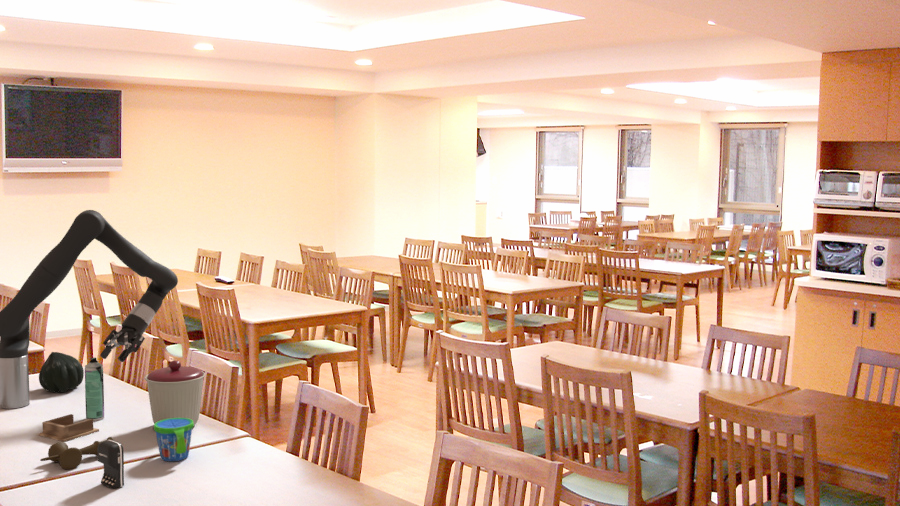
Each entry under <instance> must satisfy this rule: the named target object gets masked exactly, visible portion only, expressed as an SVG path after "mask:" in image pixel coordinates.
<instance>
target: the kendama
mask: <svg viewBox="0 0 900 506" xmlns="http://www.w3.org/2000/svg"><path fill="white" fill-rule="evenodd" d="M107 440H114V441H116V440H115V438H113V437H112V436H109V437H107V438H106V439H104V440H101V441H99V440H95V441H94V442H93V443H92V444H90V445H88V446H84V447H81V448H77V447H69V445H67V443H66V442H63V441H57V442H55V443H53V444H51V445H50V446H49V448H48V452H47V455H48V456H46V457H43V458H40V461H41V462H44V461H45V462H46V461H51V462H53V463H58V462H59V465H60V467H61V468H62V469H63V470H67V471H70V470H73V469H77V468H78V467H79V466H80V465H81V463H82V461H83V456H87V455H90V456H91V455H95V456H96V457H97V451H98V445H99V444H100V443H101V442H104V441H107Z"/></svg>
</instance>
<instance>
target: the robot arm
mask: <svg viewBox="0 0 900 506" xmlns="http://www.w3.org/2000/svg"><path fill="white" fill-rule="evenodd" d="M94 240H96V241H98V242H99V243H101V244H102V245H104V246H106V248H108V249H109V250H110V251H111V252H112V253H113V254H114V255H115V256H116V258H118V259H119V261H120V262H121V263H123V264H124V265H126V267H128V268H129V269H130V270H132V271H133V272H134V273H135V274H137V275H138V276H139V277H142V278H148V279H149V280H151V282H150V283H149V285H148V287H147V288H146V289H145V290H146V291H145V292H144V294H143V295H142V296H141V297H140V299H139V300H138V302H137V303H136V305H135V306H134V307H133V308H131V310H130V311H129V313H128V315H127V316H126V317H125V319H124V320H123V321H122V323H121V329H120V330H119V331H116V329H112V330H111V331H110V333H109V334H108V335H107V337H106V338H105V340H104V341H103V342H102V344H103V345H104V348H103V350H102V351H101V352H100V357H101V358H102V359H104V360H106V359H107V358H108V357H109V355H110V353H111V352H112V350H114V349H115V348H119V347H120V346H124V349H123V350H122V352H121V353H120V354H119V356H118V357H117V359H118V361H119V362H121V363H124V362H125V361H126V359H128V357H129V355H130V354H132V353H137V352H138V350H139V349H140V347H141V345H143V343H144V341H145V339H146V337H144V333H145V331H146V330H147V329H148V327H149V326H150V325H151V323H152V321H153V320H154V317H155V316H156V314H157V313H158V311H159V310H160V308H161V306H162V305H163V302H164V299H165V298H166V296H167V295H168V293H169V292H171V291H172V290H173V289H175V288H176V287H177V285H178V283H179V280H178V276H177V274H176V273H175V272H174V271H173V270H172V269H170V268H169V267H166V266H165V265H163V264H162V263H159V262H157V261H155V260H153V259H152V258H151V257H150V256H149V255H148V254H146V253H144V252H143V250H141V249H140V248H138V247H137V246H135V245H134V244H133V243H132V242H130V241H129V240H128V239H126V237H124V236H123V235H122V234H120V233H119V232H118V231H117V229H115V228H114V227H113V226H112V224H110V223H109V221H108V220H107V219H106V218H105V217H103V215H102V214H101V213H100V212H99V211H97V210H94V209H86V210H84V211H82V212H80V213H79V214H78V215H77V216H76V217H75V218H74V220H73V222H72V224H71V225H70V227H69V229H68V230H67V232H66V233H65V235H64V236H63V237H62V238H61V240H60V241H59V242H58V243H57V245H55V246H54V247H53V248H52V249H51V250H50V251H49V252H48V253H47V254H46V255H45V256H44V257H43V258H42V260H41V261H40V262H39V263H38V265H37V266H36V267H35V268H34V269H33V271H32V272H31V273H30V275H29V276H28V277H27V279H26V281H24V283H23V284H22V286H21V287H20V289H19V290H18V291H17V293H16V295H14V296H13V298H12V299H11V300H10V301H9V302H8V303H7V304H6V305H5V307H4V308H2V309H1V310H0V409H8V410H9V409H18V408H22V407H23V408H24V407H26V406H28V405H31V404H30V403H31V402H30V375H29V374H30V372H29V369H30V368H29V346H30V315H31V314H32V313H33V312H34V310H35V309H36V308H37V307H38V306H39V305H40V304H41V303H42V302H44V300H46V299H47V298H48V297H49V296H50V295H51V294H52V293H53V292H54V291H55V290H56V289H57V288H58V287H59V286H60V285H61V283H62V282H63V281H64V280H65V278H66V277H67V276H68V275H69V272H71V270H72V268H73V266H74V265H75V263H76V261H77V260H78V258H79V256H80V255H81V253H83V251H84V250H85V249H86V248H87V247H88V246H89V245H90V244H91V243H92V242H93V241H94Z"/></svg>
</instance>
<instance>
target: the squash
mask: <svg viewBox="0 0 900 506" xmlns="http://www.w3.org/2000/svg"><path fill="white" fill-rule="evenodd" d="M84 377H85V369H84V367H83V366H82V364H81V362H80V361H79V360H78V359H77V358H76V357H74V356H72V355H69V354H66V353H63V352H58V351H51V352H50V353H49V355H48V357H47V358H46V360H45V361H44V363H43V364H42V366H41V368H40V371H39V373H38V381H39V385H40V387H42V389H44V390H45V391H47V392H51V393H54V392H57V393H59V391H60V392H61V393H66V392H68V391H69V390H72V389H75V387H76V388H77V387H79V386H80V385H81V384H82V382H83V380H84Z"/></svg>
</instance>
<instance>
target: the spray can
mask: <svg viewBox="0 0 900 506" xmlns="http://www.w3.org/2000/svg"><path fill="white" fill-rule="evenodd" d="M84 389H85V390H84V393H85V395H84V397H85V420H88V419H93V422H97V421H102V420H104V419H105V394H104V393H105V388H104V367H103V363H100V362H99V361H98V359H97V357H91V358H90V361H89V362H88V363H87V364H86V365H84Z"/></svg>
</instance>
